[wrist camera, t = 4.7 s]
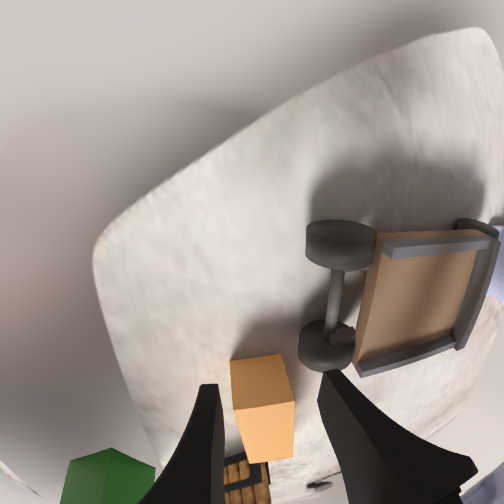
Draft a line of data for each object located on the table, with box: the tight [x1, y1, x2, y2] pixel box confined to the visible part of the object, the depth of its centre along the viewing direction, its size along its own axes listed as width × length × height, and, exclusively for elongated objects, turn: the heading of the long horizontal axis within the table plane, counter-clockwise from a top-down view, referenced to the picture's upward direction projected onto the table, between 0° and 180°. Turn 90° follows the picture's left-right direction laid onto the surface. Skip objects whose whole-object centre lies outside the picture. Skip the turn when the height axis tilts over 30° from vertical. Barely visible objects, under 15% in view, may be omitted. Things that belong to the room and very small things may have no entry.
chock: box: [230, 353, 295, 464], centre depth 20 cm, size 4×10×5 cm, turn 6°
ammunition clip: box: [224, 451, 271, 504], centre depth 22 cm, size 11×2×12 cm, turn 129°
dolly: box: [298, 218, 501, 378], centre depth 16 cm, size 17×9×6 cm, turn 92°
